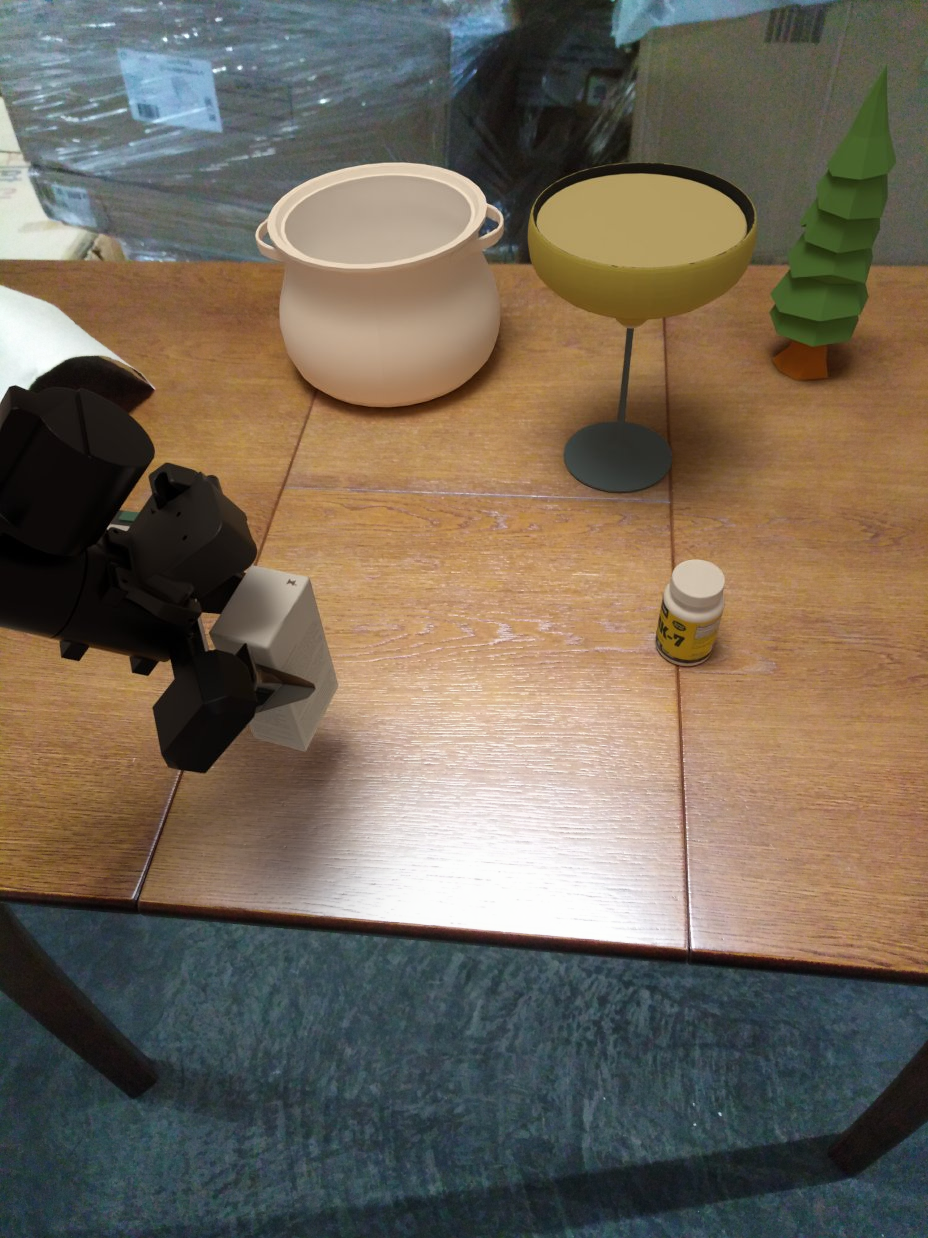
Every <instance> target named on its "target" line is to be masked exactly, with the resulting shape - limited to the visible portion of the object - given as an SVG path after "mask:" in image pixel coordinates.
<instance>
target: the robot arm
mask: <svg viewBox="0 0 928 1238" xmlns="http://www.w3.org/2000/svg"><path fill="white" fill-rule="evenodd" d="M155 454H156V449H155V445H154V442H153V441H152V439H151V436H150V435H149V433H148V432H147V431H146V430H145V429H144V427H143V426H142V424H140V423H139V422H138V421H137V420H136V419H135V418H134V417H133V416H132V415H131V414H129V413H128V412H127V411H125V410H124V409H123V408H122V407H120V406H119V405H117V404H115V403H114V402H112V401H111V400H109V399H108V398H106V397H104V396H102V395H100V394H98V393H95V392H94V391H92V390H89V389H85V388H83V387H79V389H73V388H70V387H62V386H51V387H45V388H44V389H41V391H39V392H38V393H36V392H33V391H32V390H29V389H27V388H24V387H22V386H19V385H16V384H15V385H10V386H8V388H7V390H6V392H5V393H4V395H3V397H2V399H1V401H0V628H2V629H6V630H11V631H15V632H20V633H24V634H28V635H32V636H37V637H42V638H45V639H50V640H55V641H58V642H59V652H60V657H61V659H65V660H69V661H75V662H80V661H81V660H82V658H83V657H84V655H85V654H86V653H87V651H88V650H89V648H90V649H94V650H98V651H103V652H108V653H112V654H116V655H120V656H124V657H128V659H129V664H130V668H131V674H136V675H139V676H140V675H141V676H145V677H149V676H150V675H151V673H152V672H153V671H154V669H156V666H158V664H159V663H160V662H161V663H167V662H169V661H170V665H171V670H172V674H173V675H172V676H173V678H174V679H173V680H172V682H171V683H169V685H168V687H167V688H166V689H165V690H164V692H163V693H162V694H161V695H160V697H158V699H157V701H155V703H154V704H153V705H152V707H151V709H152V713H153V719H154V724H155V729H156V734H157V741H158V744H159V750H160V755H161V757H162V759H163V761H164V762H165V763H166V766H167V767H168V768H169V769H174V770H178V771H183V772H191V773H197V774H207V772H208V771H209V770H210V769H211V768H212V766H213V765H214V764H215V763H216V762H217V761H218V760H219V759H220V757H221V756H222V755H223V754H224V753H225V752H226V750H227V749H228V748H229V747H230V746H231V745H232V743H233V742H234V741H235V740H236V739H237V738H238V737H239V736H240V734H241V733H242V732H243V731H244V730H245V728H246V727H247V726H248V724H249V722H250V721H251V720H252V719H253V718H254V716H255V714H256V713H259V712H263V711H266V710H270V709H273V708H277V707H280V706H283V705H287V704H290V703H294V702H297V701H301V700H304V699H307V698H308V697H310V695H311V694H312V693H313V692H314V691H315V689H316V688H315V685H314V683H312V682H309V681H307V680H305V679H303V678H300V677H298V676H295V675H291V674H288V673H285V672H282V671H279V670H276V669H272V668H269V667H266V666H263V665H260V664H257V663H255V662H254V659H253V656H252V654H251V651H250V648H249V646H248V644H247V643H244V644H243V646H242V647H241V648H240V649H239V651H238V652H237V653H236V654H235V655H234V654H233V653H229V652H225V651H221V650H217V649H215V648H214V649H210V647H209V643H208V639H207V635H206V631H205V627H204V623H203V619H202V615H203V614H210V615H211V614H212V615H220V614H221V613H222V611H223V610H224V608H225V607H226V605H227V603H228V602H229V600H230V598H231V597H232V595H233V594H234V592H235V590H236V589H237V587H238V586H239V584H240V582H241V581H242V579H243V578H244V576H245V574H246V573H247V572H246V570H247V571H248V570H249V568H250V566H252V565H254V563H255V561H256V559H257V557H258V547H257V544H256V541H255V540H254V539H253V536H252V533H251V529H250V526H249V524H248V517H247V516H248V515H247V513H245V511H243V510H242V509H241V507H239V506H238V505H236V503H234V502H233V501H232V500H231V499H230V498H229V497H227V496H226V495H225V494H224V493H223V489H222V486H221V482H220V479H219V478H218V477H217V476H216V475H214V474H208V475H206V474H205V473H203V472H202V471H199V472H198V471H197V470H195V469H193V468H189V467H186V466H181V465H178V464H175V463H171V462H164V463H163V464H161V465H160V466H159V467H158V468H156V469H155V470H153V471H152V472H151V473H149V474H148V482H149V485H150V490H151V494H150V497H149V498H148V499H147V501H146V502H145V504H143V507H142V508H141V509H140V511H139V512H140V513H139V514H138V515H137V517H136V518H135V520H134V521H133V523H132V524H131V526H130V527H129V529H128V530H127V531H124V530H121V529H118V528H115V527H110V528H109V529H107V528H108V526H109V525H110V523H111V522H112V520H113V519H114V517H115V516H116V514H117V513H118V511H119V510H121V508H123V506H124V504H125V502H126V501H127V499H128V498H129V496H130V495H131V493H132V492H133V491H134V489H135V487H136V486H137V484H138V483H139V481H140V480H141V478H142V477H143V475H144V474H145V473H146V471H147V470H148V468H149V467H150V465H151V464H152V462H153V460H154V459H155Z"/></svg>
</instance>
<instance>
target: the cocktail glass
mask: <svg viewBox="0 0 928 1238" xmlns="http://www.w3.org/2000/svg"><path fill="white" fill-rule="evenodd" d="M757 233H758V214H757V211H756V208H755V205H754V203H753V202H752V200H751V198H749V196H748V195H747V194H746V193H745V192H744V191H743V190H742V189H741V188H739V187H738V186H737V185H735V184H733V183H732V182H731V181H729V180H727V179H724V178H723V177H720V176H719V175H716V174H714V173H710V172H707V171H705V170H702V169H698V168H694V167H690V166H685V165H679V164H673V163H665V162H664V163H663V162H645V161H644V162H642V161H638V162H637V161H635V162H620V163H612V164H611V163H610V164H605V165H600V166H595V167H590V168H586V169H583V170H579V171H576V172H574V173H571V174H569V175H567V176H564V177H563V178H560V179H558V180H557V181H555V182H554V183H552V184H551V185H548V187H547V188H545V189H544V190H543V191H542V192H541V193H540V194H539V195H538V196H537V198H536V200H535V201H534V203H533V205H532V207H531V210H530V214H529V219H528V226H527V244H528V245H527V246H528V254H529V259H530V262H531V265H532V267H533V269H534V271H535V273H536V276H537V277H538V278H539V279H540V280H541V281H542V283H543V284H544V285H545V286H546V287H547V288H548V289H550V290H551V291H552V292H553V293H554V294H555V295H557V296H558V297H559V298H561V299H563V300H564V301H566V302H567V303H569V304H571V305H572V306H574V307H577V308H578V309H581V310H584V311H586V312H588V313H592V314H594V315H599V316H603V317H607V318H612V319H615V320H616V322H618V324H620V325H621V326H622V327H623V328H625V329H626V333H625V344H624V352H623V353H624V356H623V362H622V363H623V364H622V372H621V373H622V374H621V384H620V391H619V399H618V401H619V402H618V409H617V416H616V420H606V421H600V422H595V423H592V424H589V425H587V426H584V427H583V428H581V429H579V430H577V431H576V432H575V433H573V434H572V435H571V436H570V438H569V439H568V440H567V442H566V443H565V446H564V449H563V461H564V465H565V467H566V469H567V470H568V471H569V473H570V475H572V476H573V477H574V478H575V479H576V480H578V482H580V483H582V484H584V485H585V486H588V487H590V488H592V489H595V490H599V491H603V492H608V493H632V492H638V491H641V490H644V489H648V488H650V487H652V486H654V485H656V484H658V483H659V482H660V481H661V480H663V479H664V478H665V477H666V475H668V473H669V471H670V469H671V466H672V463H673V452H672V449H671V447H670V445H669V443H668V442H667V440H666V439H665V438H664V437H663V436H662V435H661V434H660V433H658V432H657V431H655V430H654V429H652V428H650V427H648V426H645V425H643V424H640V423H636V422H632V421H627V420H626V417H627V416H626V415H627V403H628V392H629V391H628V390H629V380H630V369H631V359H632V349H633V340H634V334H635V333H634V331H635V329H637V328H639V327H641V326H642V325H643V324H645V323H646V322H647V321H648V320H658V319H659V320H660V319H665V318H670V317H675V316H680V315H684V314H687V313H690V312H694V311H695V310H698V309H700V308H703V307H704V306H706V305H709V304H711V303H712V302H714V301H715V300H717V299H718V298H720V297H722V296H724V295H725V294H726V293H727V292H729V291H730V290H732V288H733V287H734V286H736V285H737V284H738V283H739V282H740V280H741V279H742V277H743V276H744V274H745V273H746V271H747V270H748V267H749V265H750V263H751V260H752V257H753V254H754V252H755V251H754V250H755V249H756V248H755V247H756V243H757Z"/></svg>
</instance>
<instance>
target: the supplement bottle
mask: <svg viewBox="0 0 928 1238" xmlns="http://www.w3.org/2000/svg"><path fill="white" fill-rule="evenodd" d="M725 585H726V577H725V575H724V573H723V571H722V570H721V568H719V566H717V565H716V564H715V563H712V562H711V561H707V560H703V559H699V558H698V559H696V558H694V559H688V560H684V561H682V562H680V563H679V564H677V565H676V566H675V567H674V569H673V571H672V573H671V577H670V579H669V582H668V583H667V585H666V586H665V588H664V590H663V594H662V599H661V605H660V610H659V615H658V621H657V626H656V631H655V640H654V641H655V642H654V643H655V647H656V649H657V651H658V653H659V654H660V655H661V656H662V657H663V658H664V659H665V660H666V661H668V662H670V663H671V664H674V665H677V666H681V667H693V666H697V665H700V664H702V663H704V662H705V661H706V660H707V659H709V657H710V656H711V654H712V653H713V650H714V647H715V643H716V639H717V636H718V632H719V629H720V624H721V621H722V617H723V614H724V610H725V605H726V604H725V603H726V597H725V593H724V591H725V590H724V589H725Z"/></svg>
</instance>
